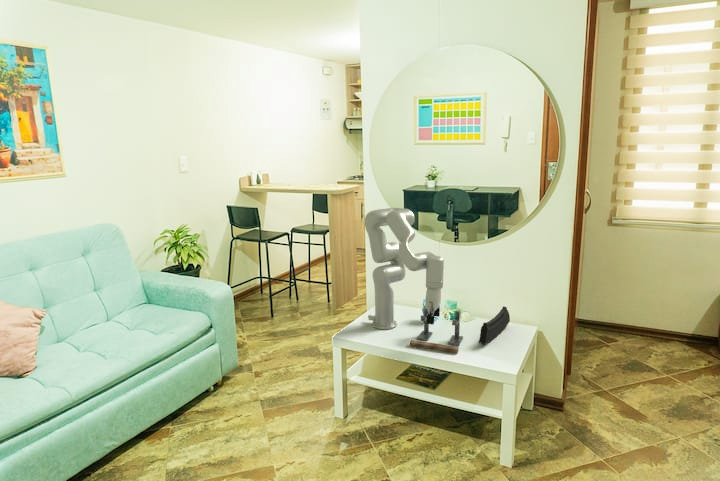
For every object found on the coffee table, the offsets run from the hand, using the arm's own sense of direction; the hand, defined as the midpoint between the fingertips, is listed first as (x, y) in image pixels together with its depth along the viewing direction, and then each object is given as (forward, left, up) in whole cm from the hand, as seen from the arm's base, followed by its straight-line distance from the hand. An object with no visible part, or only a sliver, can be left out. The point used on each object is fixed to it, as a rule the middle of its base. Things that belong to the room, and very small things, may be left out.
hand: (433, 319), depth 219 cm
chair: (-10, +33, -14) cm, 37 cm away
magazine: (+24, +26, -14) cm, 38 cm away
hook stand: (+1, +11, -14) cm, 18 cm away
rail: (0, 0, -13) cm, 13 cm away
